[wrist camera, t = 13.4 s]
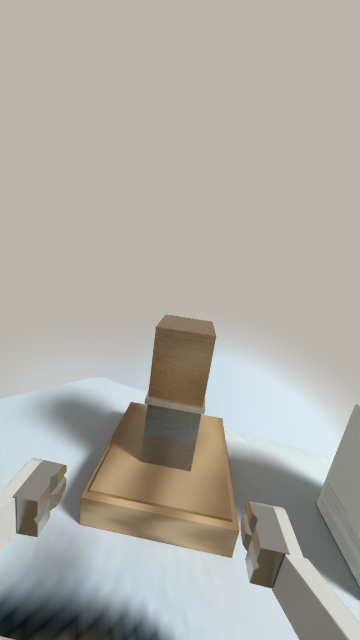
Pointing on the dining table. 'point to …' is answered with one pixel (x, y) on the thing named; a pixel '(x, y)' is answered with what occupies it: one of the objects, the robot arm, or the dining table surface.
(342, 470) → the supplement box
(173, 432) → the block
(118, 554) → the dining table surface
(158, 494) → the oak plinth
